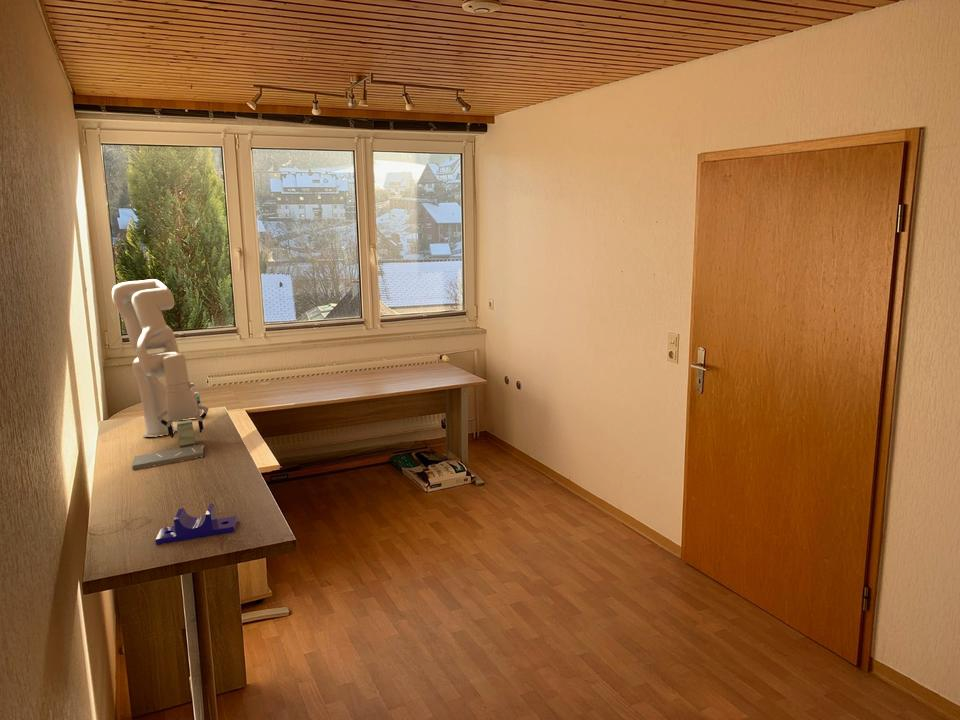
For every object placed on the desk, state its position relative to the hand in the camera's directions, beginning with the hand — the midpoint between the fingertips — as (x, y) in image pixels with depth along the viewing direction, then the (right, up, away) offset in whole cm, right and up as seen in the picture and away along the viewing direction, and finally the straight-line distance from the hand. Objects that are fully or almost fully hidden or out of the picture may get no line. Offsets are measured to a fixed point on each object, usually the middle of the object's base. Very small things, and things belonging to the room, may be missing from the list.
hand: (186, 434), depth 258 cm
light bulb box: (-17, +2, +43) cm, 47 cm away
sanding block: (0, -4, +1) cm, 4 cm away
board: (0, -7, -15) cm, 16 cm away
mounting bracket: (+37, -16, -82) cm, 91 cm away
